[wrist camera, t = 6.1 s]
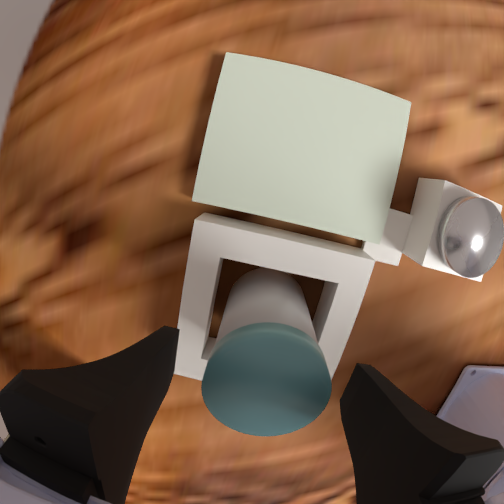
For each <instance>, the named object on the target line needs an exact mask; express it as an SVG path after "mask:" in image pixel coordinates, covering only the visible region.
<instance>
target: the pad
mask: <svg viewBox="0 0 504 504" xmlns="http://www.w3.org/2000/svg"><path fill="white" fill-rule="evenodd" d="M410 107H411V102H409V101H407V100H404V99H402V98H399V97H397V96H394V95H391V94H389V93H386V92H383V91H381V90H378V89H375V88H372V87H369V86H366V85H363V84H360V83H357V82H354V81H351V80H348V79H345V78H341V77H338V76H335V75H331V74H328V73H324V72H320V71H317V70H313V69H309V68H305V67H301V66H297V65H293V64H288V63H284V62H279V61H274V60H269V59H264V58H259V57H253V56H247V55H241V54H235V53H228V52H226V55H225V58H224V62H223V66H222V70H221V73H220V77H219V81H218V85H217V89H216V93H215V97H214V101H213V105H212V109H211V113H210V118H209V122H208V126H207V130H206V135H205V139H204V144H203V148H202V153H201V158H200V162H199V167H198V172H197V177H196V182H195V187H194V192H193V197H192V201H194V202H199V203H204V204H209V205H213V206H218V207H223V208H228V209H232V210H237V211H241V212H246V213H250V214H255V215H259V216H264V217H268V218H272V219H277V220H281V221H285V222H290V223H294V224H298V225H303V226H307V227H311V228H315V229H319V230H323V231H327V232H331V233H336V234H340V235H344V236H348V237H352V238H355V239H359V240H363V241H367V242H371V243H375V244H379V245H380V241H381V238H382V234H383V231H384V227H385V223H386V220H387V216H388V212H389V208H390V204H391V200H392V196H393V192H394V188H395V184H396V179H397V175H398V171H399V166H400V161H401V157H402V152H403V147H404V142H405V136H406V131H407V125H408V120H409V114H410Z"/></svg>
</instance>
